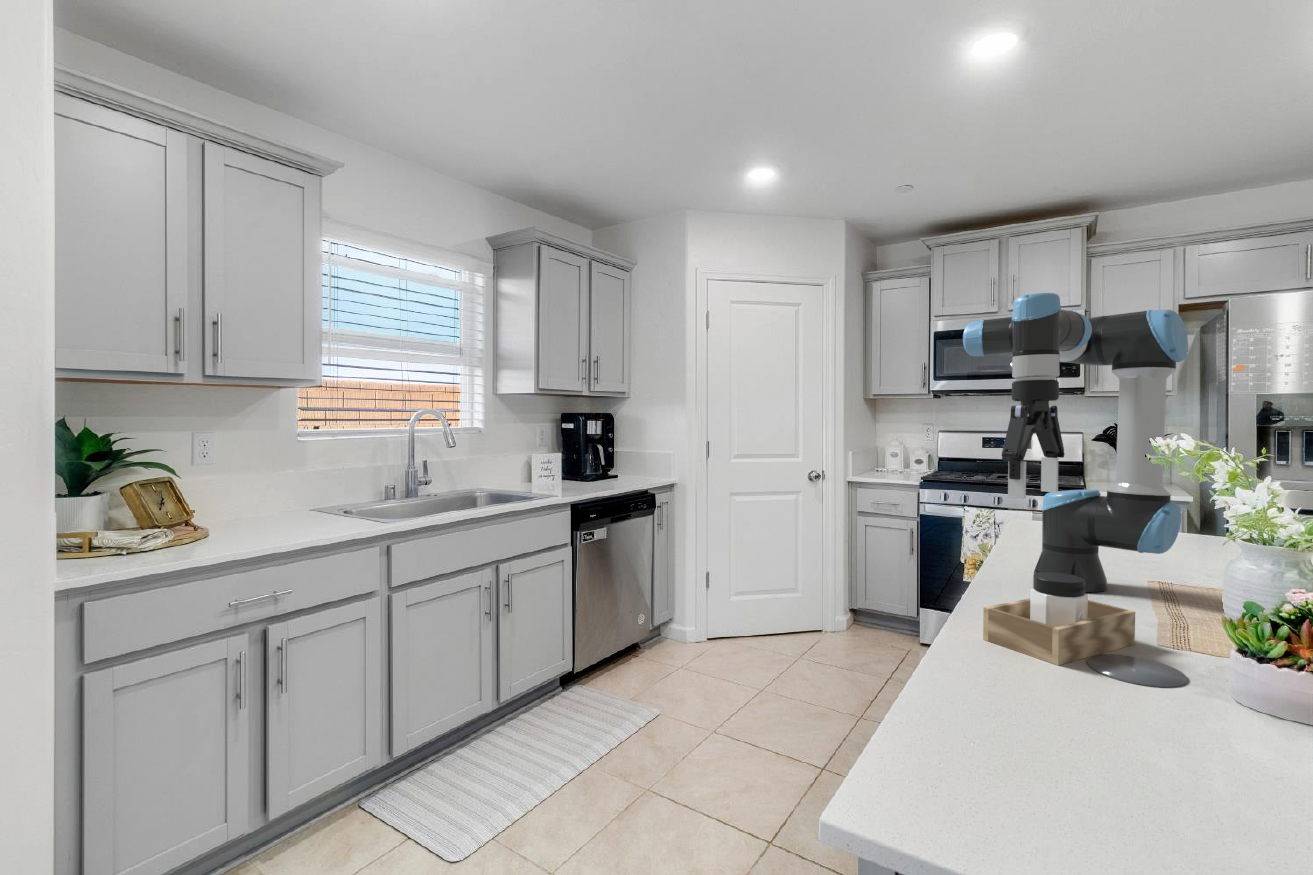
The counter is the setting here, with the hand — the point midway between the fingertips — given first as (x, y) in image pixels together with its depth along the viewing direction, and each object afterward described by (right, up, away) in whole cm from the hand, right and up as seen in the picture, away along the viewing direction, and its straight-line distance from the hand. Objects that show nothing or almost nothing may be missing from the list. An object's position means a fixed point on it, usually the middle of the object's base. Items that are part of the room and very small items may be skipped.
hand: (1033, 494), depth 121 cm
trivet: (+8, -27, -15) cm, 32 cm away
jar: (+4, -27, -1) cm, 27 cm away
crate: (+4, -27, -1) cm, 27 cm away
